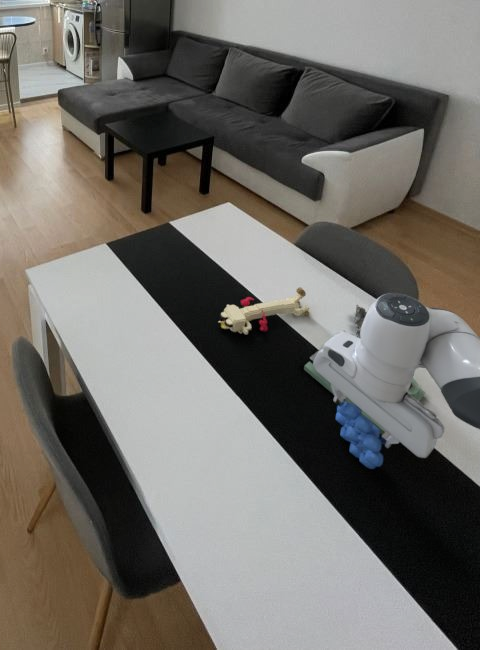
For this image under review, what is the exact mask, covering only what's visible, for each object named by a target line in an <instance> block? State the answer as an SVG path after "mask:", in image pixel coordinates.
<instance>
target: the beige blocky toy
mask: <svg viewBox="0 0 480 650" xmlns="http://www.w3.org/2000/svg"><path fill="white" fill-rule="evenodd" d="M296 293H297V294H296V295H294V296H292V297H285V299H277V300H271V301H266V302H265V301H264V302H260V303H254V304H253V305H250V303H251V302H250V301H254V300H255V299H254V298H253V297H251V296H247V297H245V298H244V299H241V300H240V305H241V306H243V307H242V308H241V307H239V306H237V305H235V304H226V307H225V308H224V309H223V311H222V312H220V314H219V318H220V319H221V320H222V321H221V320H219V321H217V323H219V324H220V327H221V329H224V330H228V329H229V330H230V331H231V332H233V333H237V332H238V333H239V334H240V335H241V334H244V335H249V331H252V324H251V323H250V322H251V321H253V320H257V319H260V320H258V324H259V325H260V327H259V330H260V331H261V332H268V329H269V328H268V319H266V318H267V317H269V316H275V315H283V314H284V315H285V314H293V315H294V316H295V317H299V316H301V315H302V316H303V317H307V316H308V317H309V316H310V311H309V309H310V307H309V306H308V305H303V306H301V302H300V301H301V300H303V298H305V297H306V295H307V293H306V291H305V289H303V288H302V287H298V288H296ZM300 306H301V307H300ZM262 319H263V320H262Z"/></svg>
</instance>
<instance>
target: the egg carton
mask: <svg viewBox="0 0 480 650" xmlns="http://www.w3.org/2000/svg"><path fill="white" fill-rule="evenodd" d="M367 312H368V311H366V309H365V308H364V307H362V306H359V304H356V305H355V312H354V313H353V322H354V331H355V333H356V335H355V337H358V338H360V330H361V327H362V324H363V321H364V318H365V316H366V314H367ZM360 339H361V338H360Z"/></svg>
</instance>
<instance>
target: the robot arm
mask: <svg viewBox="0 0 480 650" xmlns="http://www.w3.org/2000/svg"><path fill="white" fill-rule="evenodd" d="M366 312H367V314H366V316H365V318H364V321H363V324H362V327H361V330H360V338H361V339H360V338H358V337H356V335H353V334H351V333H349V332H347V331H346V332H343V331H344V330H342V331H340V332H338V333H336V334H335V335H333V336H332V337H330V338H329V339H328V340H327V341H326V342H325V343H324V345H323V346H322V347H323V348H322V347H321V348H322V349H321V348H320V349H321V350H320V349H319V350H320V351H319V350H318V351H319V352H318V353H317V355H316V357H315V359H314V362H313V366H314V368H315V370H316V372H318V373H319V374H320V375H321V376H322V377H324V378H325V379H326V380H327V381H328V382H330V383H331V388H332V391H333V393H332V395H333V396H334V397H333V399H332V400H333V402H334V404H336V405H337V406H338V405H339V406H340V407H341V406H342V405H343V404H344V403H345V400H346V398H348V399H350V400H351V401H352V402H353V403H354V404H356V405H357V406H358V407H359V408H360V409H362V410H363V411H364V412H365V413H366V414H367V415H369V416H370V417H371V418H372V419H373V420H375V421H376V422H377V423H378V424H379V425H380V426H382V427H383V428H384V429H385V430H386V432H385V433H384V434H383V435H382V434H381V435H380V437H379V439H380V440H381V444H382V445H383V446H384V447H385V448H386V449H389V448H391V446H392V445H397V444H398V445H399V443H401V445H403V446H404V447H405V448H407V450H409V451H410V453H412V454H414V455H415V456H416V457H418V458H421V459H427V458H428V457H429V456H430V454H431V453H432V452H433V451H434V449H435V447H436V444H437V442H438V439H441V438H442V437H443V436H444V432H445V426H444V425H443V423H442V421H441V420H440V419H439V418H438V415H437V414H436V413H435V412H434V411H432V410H431V409H430V408H427V407H426V406H425V405H423V404H422V402H420V401H418V400H416V399H415V398H414V397H412V396H411V395H410V394H408V392H407V391H408V389H409V387H410V384H411V382H412V380H413V378H414V377H415V372H416V370H417V369H419V368H421V369H426V371H427V372H428V374H429V375H430V376H431V378H432V380H433V381H434V383H435V384H436V385H437V387H438V389H439V390H440V393H441V395H442V396H443V398H444V400H445V401H446V403H447V405H448V407H449V408H450V410H451V412H452V414H453V415H454V416H455V417H456V418H457V419H459V420H461V422H464V423H465V424H467V425H469V426H471V427H473V428H476V429H478V430H480V337H479V335H477V334H476V332H475V331H474V330H473V329H472V328H471V326H469V325H468V323H467V322H466V321H465V320H464V319H463V318H462V317H461V316H460V315H459V314H457V313H456V312H453V311H452V310H447V309H445V308H439V307H432V306H431V307H429V306H426V305H424V304H423V303H422V302H421V301H420V300H418V299H417V298H414V297H412V296H410V295H407V294H404V293H397V292H387V293H385V294H382V295H380V296H379V297H377V298H376V299H375V300H374V301H373V302H372V304H371V305H370V307H369V308H368V310H367V311H366ZM343 394H344V395H343ZM387 431H388V432H389V433H388V432H387Z"/></svg>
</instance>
